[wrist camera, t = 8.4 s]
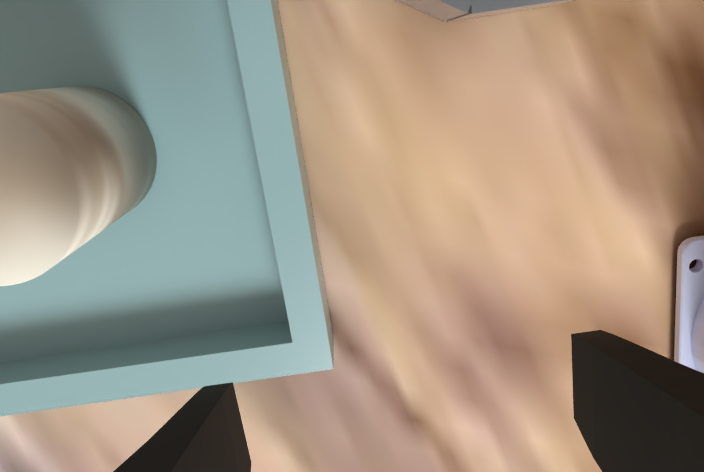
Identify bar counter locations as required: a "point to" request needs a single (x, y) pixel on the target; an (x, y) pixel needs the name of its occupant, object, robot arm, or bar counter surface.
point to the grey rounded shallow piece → (475, 7)
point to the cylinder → (66, 173)
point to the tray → (172, 210)
